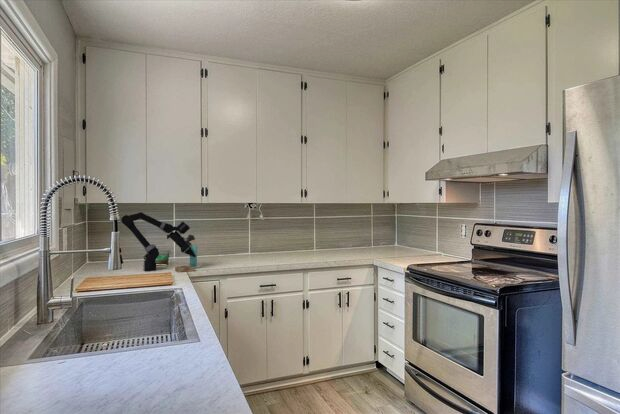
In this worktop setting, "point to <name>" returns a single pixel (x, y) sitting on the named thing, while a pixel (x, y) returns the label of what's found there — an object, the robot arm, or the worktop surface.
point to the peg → (193, 259)
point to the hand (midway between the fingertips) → (195, 256)
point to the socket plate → (184, 268)
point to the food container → (163, 257)
